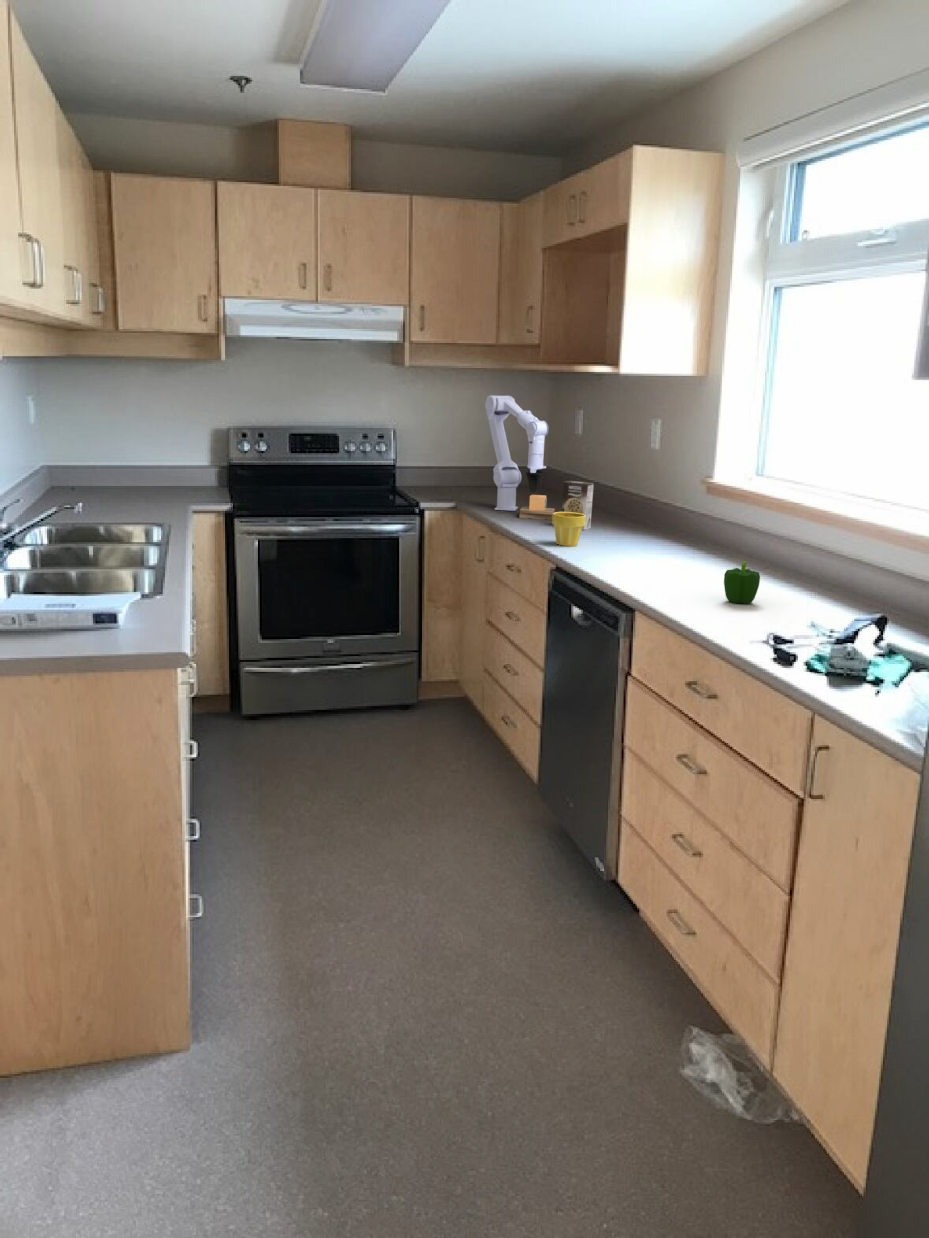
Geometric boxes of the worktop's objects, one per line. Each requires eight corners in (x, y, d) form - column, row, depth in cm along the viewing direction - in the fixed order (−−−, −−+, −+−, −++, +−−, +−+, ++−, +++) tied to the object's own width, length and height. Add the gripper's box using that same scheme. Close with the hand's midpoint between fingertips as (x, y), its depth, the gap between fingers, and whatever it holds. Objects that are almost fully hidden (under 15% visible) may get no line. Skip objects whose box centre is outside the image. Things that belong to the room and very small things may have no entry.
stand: (522, 514, 379) (523, 506, 378) (554, 516, 377) (554, 508, 376) (519, 518, 369) (519, 510, 369) (551, 520, 367) (552, 511, 367)
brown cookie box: (560, 527, 351) (562, 481, 347) (567, 525, 356) (569, 480, 352) (584, 530, 347) (587, 483, 343) (591, 528, 352) (594, 482, 348)
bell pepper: (747, 607, 239) (752, 566, 237) (716, 601, 245) (720, 561, 242) (763, 602, 245) (767, 562, 243) (732, 596, 251) (736, 557, 248)
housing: (529, 509, 371) (529, 496, 370) (530, 508, 375) (531, 494, 374) (545, 510, 370) (545, 497, 369) (546, 509, 374) (547, 495, 373)
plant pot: (587, 547, 313) (589, 516, 311) (555, 547, 311) (557, 516, 309) (578, 541, 323) (580, 511, 320) (547, 541, 321) (549, 511, 319)
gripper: (544, 456, 364) (542, 493, 367) (548, 453, 378) (546, 488, 381) (525, 455, 365) (523, 492, 369) (530, 452, 379) (528, 487, 382)
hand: (534, 490), depth 375 cm, fingers open, 7 cm apart
